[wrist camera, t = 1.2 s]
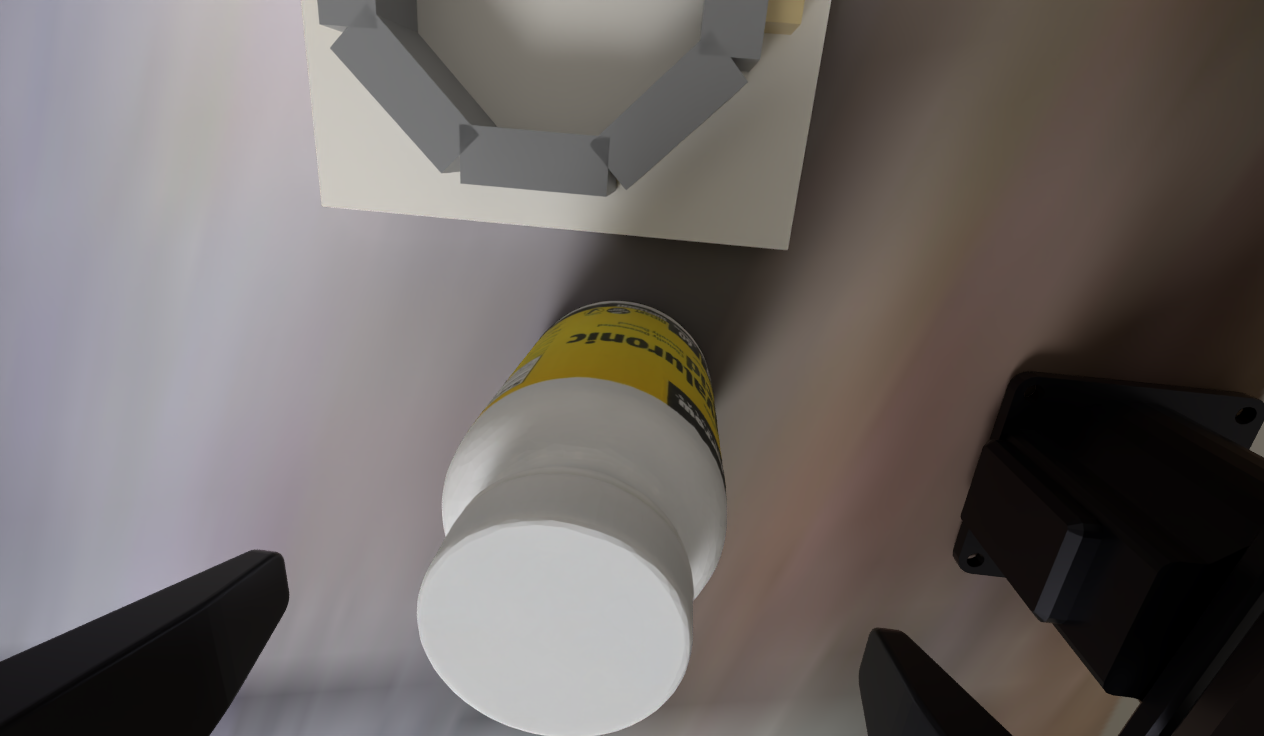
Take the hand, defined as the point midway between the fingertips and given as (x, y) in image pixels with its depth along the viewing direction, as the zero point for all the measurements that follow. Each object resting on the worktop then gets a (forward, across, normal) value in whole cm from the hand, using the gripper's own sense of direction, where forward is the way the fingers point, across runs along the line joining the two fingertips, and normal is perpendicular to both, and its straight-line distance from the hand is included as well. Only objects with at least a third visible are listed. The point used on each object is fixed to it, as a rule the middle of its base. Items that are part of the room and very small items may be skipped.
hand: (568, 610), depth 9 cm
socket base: (+9, +2, -10) cm, 14 cm away
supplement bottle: (+9, 0, 0) cm, 9 cm away
